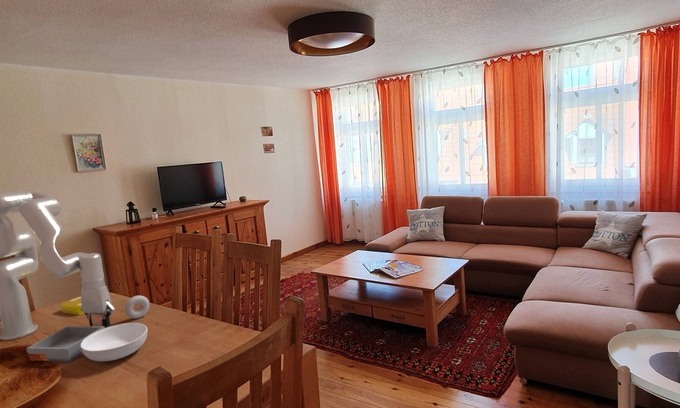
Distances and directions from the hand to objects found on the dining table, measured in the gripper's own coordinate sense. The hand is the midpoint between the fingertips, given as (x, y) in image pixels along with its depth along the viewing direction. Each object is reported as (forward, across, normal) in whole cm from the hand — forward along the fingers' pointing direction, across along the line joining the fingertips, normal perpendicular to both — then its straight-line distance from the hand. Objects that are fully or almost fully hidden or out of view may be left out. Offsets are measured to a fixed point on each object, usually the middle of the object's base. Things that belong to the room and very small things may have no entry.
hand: (100, 326), depth 159 cm
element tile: (+4, -30, +24) cm, 39 cm away
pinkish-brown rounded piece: (+1, 0, 0) cm, 1 cm away
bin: (+2, -1, -14) cm, 14 cm away
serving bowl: (+2, +21, -16) cm, 26 cm away
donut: (+2, +8, +13) cm, 15 cm away
